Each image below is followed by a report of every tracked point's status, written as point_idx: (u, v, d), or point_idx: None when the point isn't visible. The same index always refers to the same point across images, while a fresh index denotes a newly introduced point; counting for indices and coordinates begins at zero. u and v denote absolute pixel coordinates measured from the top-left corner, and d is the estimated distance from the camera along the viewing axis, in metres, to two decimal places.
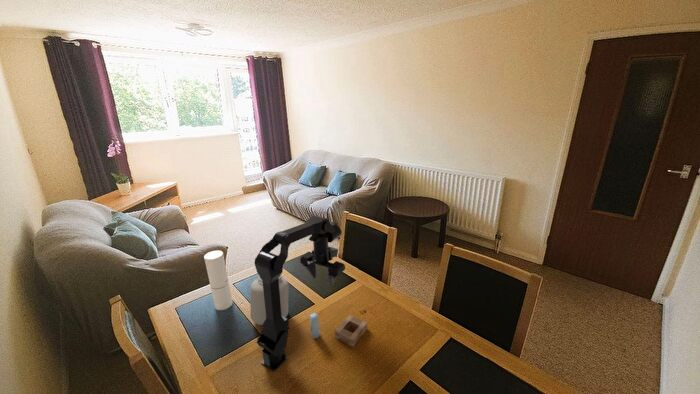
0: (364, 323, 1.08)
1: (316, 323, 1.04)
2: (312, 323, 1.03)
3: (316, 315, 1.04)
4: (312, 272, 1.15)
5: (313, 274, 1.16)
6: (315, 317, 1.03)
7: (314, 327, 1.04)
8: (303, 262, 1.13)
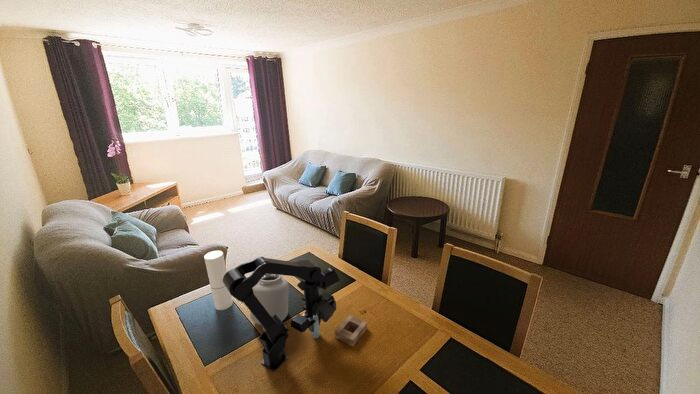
0: (364, 323, 1.08)
1: (316, 323, 1.04)
2: None
3: (316, 315, 1.04)
4: None
5: None
6: (315, 317, 1.03)
7: (314, 327, 1.04)
8: None
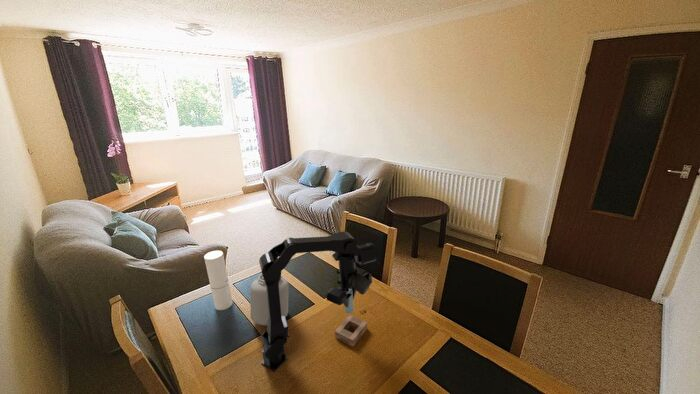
0: (364, 323, 1.08)
1: (351, 297, 1.01)
2: None
3: (350, 289, 1.01)
4: None
5: None
6: (350, 291, 1.01)
7: None
8: None
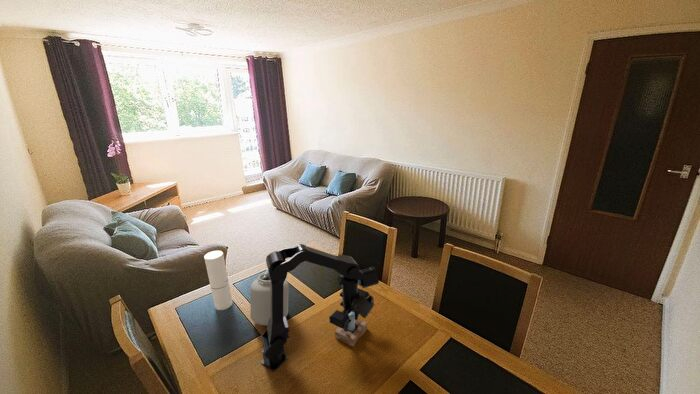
0: (364, 323, 1.08)
1: (353, 321, 1.04)
2: None
3: (353, 313, 1.05)
4: (353, 311, 1.08)
5: None
6: (352, 315, 1.04)
7: (350, 325, 1.04)
8: None
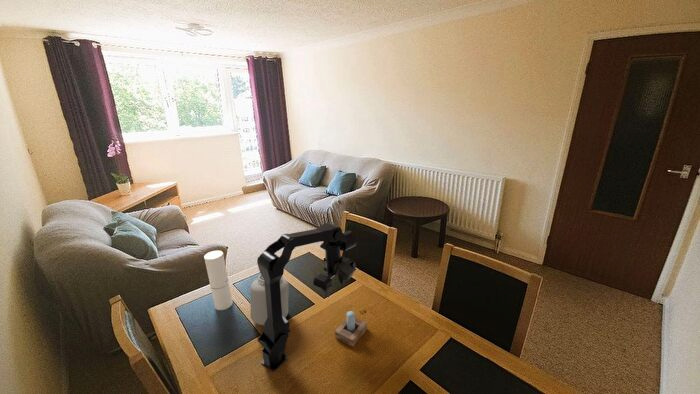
0: (364, 323, 1.08)
1: (353, 321, 1.04)
2: (349, 321, 1.04)
3: (352, 313, 1.05)
4: (339, 276, 1.15)
5: (340, 279, 1.15)
6: (352, 315, 1.04)
7: (350, 325, 1.04)
8: None
